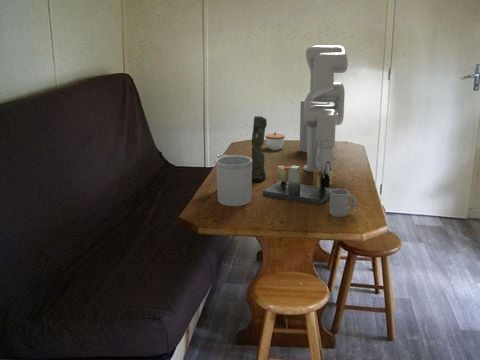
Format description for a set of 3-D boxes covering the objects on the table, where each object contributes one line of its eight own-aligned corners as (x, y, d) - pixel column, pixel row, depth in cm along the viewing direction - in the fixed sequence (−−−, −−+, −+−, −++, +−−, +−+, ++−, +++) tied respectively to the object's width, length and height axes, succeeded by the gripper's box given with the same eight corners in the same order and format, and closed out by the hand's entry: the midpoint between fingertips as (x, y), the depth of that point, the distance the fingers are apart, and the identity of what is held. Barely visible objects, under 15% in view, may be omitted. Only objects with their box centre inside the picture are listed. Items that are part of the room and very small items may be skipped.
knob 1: (276, 181, 247) (277, 163, 245) (282, 180, 248) (282, 162, 246) (284, 186, 240) (285, 167, 238) (290, 185, 241) (290, 167, 239)
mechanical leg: (262, 183, 250) (265, 115, 249) (246, 182, 252) (249, 115, 250) (267, 181, 264) (270, 117, 262) (252, 181, 265) (254, 117, 263)
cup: (327, 210, 218) (328, 188, 215) (353, 210, 218) (355, 188, 215) (330, 217, 211) (331, 194, 208) (357, 217, 211) (358, 194, 208)
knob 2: (328, 187, 239) (328, 168, 236) (332, 188, 236) (332, 169, 234) (313, 190, 235) (313, 171, 232) (317, 191, 233) (317, 172, 230)
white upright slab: (301, 146, 322) (302, 97, 314) (327, 147, 319) (329, 98, 310) (297, 154, 304) (298, 102, 296) (325, 155, 301) (327, 103, 293)
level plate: (279, 185, 250) (279, 156, 246) (334, 193, 238) (336, 163, 234) (262, 195, 237) (263, 164, 233) (320, 204, 224) (322, 172, 221)
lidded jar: (275, 152, 310) (275, 135, 307) (261, 148, 317) (261, 132, 314) (288, 148, 317) (288, 132, 314) (274, 145, 324) (274, 129, 321)
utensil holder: (240, 209, 220) (239, 166, 215) (209, 202, 228) (208, 161, 223) (259, 199, 232) (259, 157, 227) (229, 193, 240) (228, 153, 235)
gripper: (311, 138, 238) (310, 179, 243) (321, 148, 222) (320, 192, 227) (328, 138, 238) (327, 179, 244) (340, 147, 222) (338, 191, 228)
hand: (323, 184), depth 235 cm, fingers closed on knob 2, 4 cm apart
